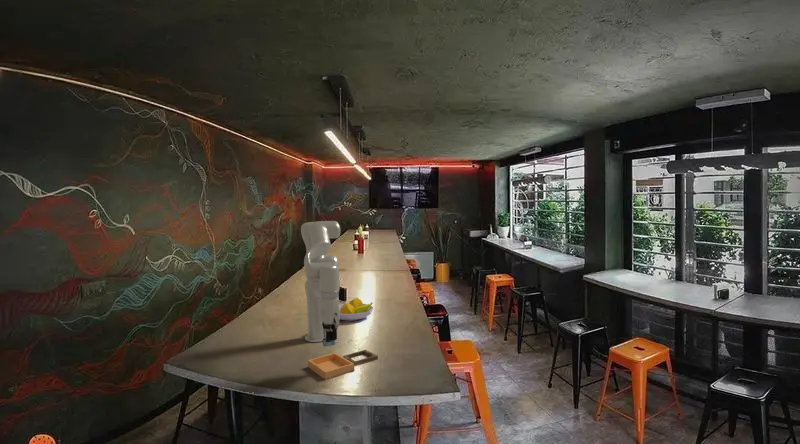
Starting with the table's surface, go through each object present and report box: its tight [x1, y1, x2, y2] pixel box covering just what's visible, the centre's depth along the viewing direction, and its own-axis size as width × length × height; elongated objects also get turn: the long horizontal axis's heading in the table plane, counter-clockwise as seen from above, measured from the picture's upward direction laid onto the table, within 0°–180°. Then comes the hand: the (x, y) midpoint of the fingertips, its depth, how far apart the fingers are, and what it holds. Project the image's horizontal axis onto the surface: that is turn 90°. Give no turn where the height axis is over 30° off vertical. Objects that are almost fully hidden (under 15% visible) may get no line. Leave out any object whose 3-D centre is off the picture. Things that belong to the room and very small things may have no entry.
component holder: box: [342, 349, 379, 367], centre depth 172 cm, size 10×12×2 cm
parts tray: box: [307, 352, 356, 381], centre depth 162 cm, size 16×13×3 cm
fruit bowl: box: [339, 297, 375, 322], centre depth 237 cm, size 28×27×11 cm
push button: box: [322, 321, 339, 347], centre depth 161 cm, size 7×5×10 cm
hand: (330, 338), depth 162 cm, fingers closed on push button, 4 cm apart
